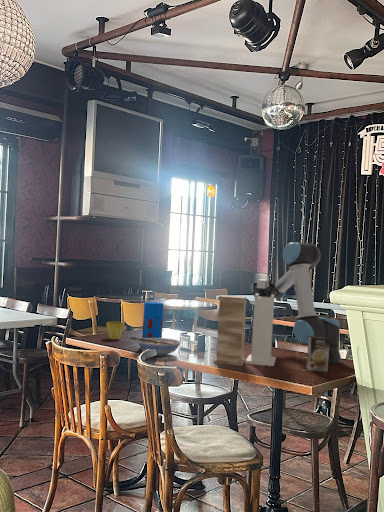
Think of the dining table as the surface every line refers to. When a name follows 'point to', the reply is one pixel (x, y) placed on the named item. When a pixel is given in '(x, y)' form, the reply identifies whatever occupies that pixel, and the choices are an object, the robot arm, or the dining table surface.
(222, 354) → the oak stand
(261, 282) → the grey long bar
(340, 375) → the dining table surface
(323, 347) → the coffee box
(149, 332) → the blue carton
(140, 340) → the ramen bowl
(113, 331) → the plant pot
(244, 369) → the dining table surface
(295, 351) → the dining table surface
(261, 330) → the post
